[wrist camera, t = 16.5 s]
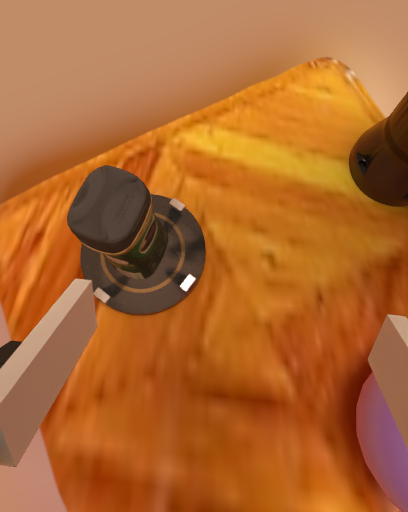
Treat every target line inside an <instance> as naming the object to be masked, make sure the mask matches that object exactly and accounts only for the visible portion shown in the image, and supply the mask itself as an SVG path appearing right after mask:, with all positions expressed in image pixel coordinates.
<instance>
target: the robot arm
mask: <svg viewBox="0 0 408 512" xmlns="http://www.w3.org/2000/svg"><path fill="white" fill-rule="evenodd" d="M349 165H350V171H351V174H352V177H353V179H354V181H355V182H356V184H357V185H358V186H359V188H360V189H361V190H362V191H363V192H364V193H365V194H367V195H368V196H369V197H371V198H372V199H374V200H376V201H378V202H381V203H383V204H387V205H391V206H408V92H407V94H406V95H405V96H404V98H403V99H402V100H401V102H400V103H399V104H398V105H397V107H396V108H395V109H394V111H393V112H392V113H391V115H390V116H389V117H387V118H385V119H384V120H382V121H381V122H379V123H378V124H376V125H374V126H373V127H371V128H370V129H368V130H367V131H366V132H365V133H364V134H363V135H362V136H361V137H360V138H359V140H358V141H357V143H356V144H355V145H354V147H353V149H352V151H351V154H350V160H349ZM96 328H97V320H96V311H95V303H94V295H93V287H92V280H83V279H75V280H74V281H73V282H72V283H71V284H70V286H69V287H68V288H67V289H66V290H65V292H64V293H63V294H62V295H61V297H60V298H59V299H58V300H57V301H56V303H55V304H54V305H53V306H52V307H51V309H50V310H49V311H48V312H47V313H46V315H45V316H44V317H43V318H42V319H41V321H40V322H39V323H38V324H37V325H36V327H35V328H34V329H33V330H32V331H31V333H30V334H29V335H28V336H27V337H26V339H25V340H24V341H23V342H19V341H10V342H8V343H7V344H5V345H4V346H2V347H1V348H0V465H5V466H13V467H16V466H17V464H18V463H19V461H20V459H21V458H22V456H23V454H24V453H25V451H26V449H27V447H28V446H29V444H30V442H31V440H32V439H33V437H34V435H35V434H36V432H37V430H38V428H39V427H40V425H41V423H42V421H43V420H44V418H45V416H46V415H47V413H48V411H49V409H50V408H51V406H52V404H53V403H54V401H55V399H56V397H57V396H58V394H59V392H60V390H61V389H62V387H63V385H64V384H65V382H66V380H67V378H68V377H69V375H70V373H71V371H72V370H73V368H74V366H75V365H76V363H77V361H78V359H79V358H80V356H81V354H82V353H83V351H84V349H85V347H86V346H87V344H88V342H89V340H90V339H91V337H92V335H93V334H94V332H95V330H96ZM367 360H368V363H369V365H370V367H371V369H372V371H373V374H374V376H375V378H376V380H377V383H378V385H379V387H380V389H381V391H382V394H383V396H384V398H385V400H386V403H387V405H388V407H389V409H390V412H391V414H392V416H393V418H394V420H395V423H396V425H397V427H398V429H399V432H400V434H401V436H402V438H403V441H404V443H405V445H406V447H407V449H408V319H407V318H406V316H398V315H389V314H387V316H386V318H385V321H384V323H383V325H382V327H381V330H380V332H379V334H378V337H377V339H376V341H375V343H374V346H373V348H372V350H371V353H370V355H369V357H368V359H367Z"/></svg>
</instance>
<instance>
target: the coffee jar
mask: <svg viewBox="0 0 408 512" xmlns="http://www.w3.org/2000/svg"><path fill="white" fill-rule="evenodd" d="M67 222H68V226H69V228H70V229H71V231H72V232H73V233H74V234H75V235H76V236H77V238H78V239H79V241H80V242H81V243H83V244H84V245H86V246H87V247H89V248H90V249H92V250H94V251H96V252H99V253H102V254H104V256H105V257H106V258H107V260H108V261H109V263H110V264H111V265H112V266H113V267H114V268H115V269H116V270H117V271H118V272H120V273H122V274H124V275H126V276H128V277H131V278H135V279H146V278H148V277H150V276H151V275H152V274H153V273H154V272H155V271H156V269H157V268H158V266H159V264H160V262H161V260H162V258H163V256H164V253H165V251H166V248H167V244H168V233H167V231H166V229H165V227H164V226H163V225H162V223H161V222H160V221H159V220H158V218H157V217H156V215H155V213H154V211H153V205H152V197H151V194H150V192H149V190H148V188H147V187H146V186H145V184H144V183H143V182H142V181H141V180H140V179H139V178H138V177H137V176H135V175H134V174H132V173H130V172H127V171H125V170H122V169H119V168H116V167H112V166H108V165H105V166H102V167H99V168H97V169H96V170H94V171H93V172H92V173H90V174H89V176H88V177H87V178H86V179H85V181H84V183H83V185H82V186H81V188H80V190H79V191H78V193H77V195H76V197H75V199H74V201H73V203H72V205H71V207H70V209H69V212H68V216H67Z"/></svg>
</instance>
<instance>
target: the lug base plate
mask: <svg viewBox="0 0 408 512" xmlns="http://www.w3.org/2000/svg"><path fill="white" fill-rule="evenodd" d="M151 197H152V205H153V211H154V213H155V215H156V217H157V218H158V220H159V221H160V222H161V223H162V225H163V226H164V227H165V229H166V231H167V233H168V244H167V248H166V251H165V253H164V256H163V258H162V260H161V262H160V264H159V266H158V268H157V269H156V271H155V272H154V273H153V274H152V275H151V276H150V277H148V278H146V279H135V278H131V277H128V276H126V275H124V274H122V273H120V272H118V271H117V270H116V269H115V268H114V267H113V266H112V265H111V264H110V263H109V261H108V260H107V258H106V257H105V256H104V254H102V253H99V252H96V251H94V250H92V249H90V248H89V247H87V246H86V245H84V244H83V243H82V248H81V268H82V272H83V276H84V278H85V280H92V287H93V294H94V295H95V296H96V297H98V298H99V299H100V300H101V301H102V302H103V303H105V304H106V305H108V306H110V307H112V308H114V309H116V310H118V311H121V312H124V313H128V314H134V315H148V314H154V313H159V312H162V311H165V310H167V309H169V308H171V307H173V306H175V305H176V304H178V303H179V302H181V301H182V300H183V299H184V298H185V297H187V296H188V295H189V293H190V292H191V291H192V290H193V289H194V287H195V286H196V284H197V283H198V281H199V279H200V276H201V274H202V271H203V268H204V263H205V241H204V237H203V233H202V230H201V228H200V226H199V224H198V222H197V220H196V219H195V218H194V216H193V215H192V214H191V213H190V212H189V211H188V210H187V209H186V206H185V205H184V204H182V203H181V202H179V201H178V200H177V199H175V198H173V199H169V198H167V197H163V196H159V195H153V194H151Z"/></svg>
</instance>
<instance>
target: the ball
mask: <svg viewBox="0 0 408 512" xmlns="http://www.w3.org/2000/svg"><path fill="white" fill-rule="evenodd" d="M356 430H357V437H358V440H359V443H360V447H361V450H362V453H363V457H364V460H365V463H366V464H367V466H368V468H369V469H370V471H371V473H372V474H373V476H374V478H375V479H376V481H377V482H378V484H379V486H380V487H381V489H382V490H383V492H384V494H385V495H386V496H387V497H388V498H389V500H390V501H391V502H392V503H393V504H394V505H395V506H397V507H398V508H399V509H400V510H401V511H402V512H408V449H407V447H406V445H405V443H404V441H403V438H402V436H401V434H400V432H399V429H398V427H397V425H396V423H395V420H394V418H393V416H392V414H391V412H390V409H389V407H388V405H387V403H386V400H385V398H384V396H383V394H382V391H381V389H380V387H379V385H378V383H377V380H376V378H375V376H374V374H373V372H372V373H371V374H370V376H369V377H368V378H367V380H366V381H365V382H364V384H363V386H362V389H361V393H360V396H359V399H358V403H357V406H356Z"/></svg>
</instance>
